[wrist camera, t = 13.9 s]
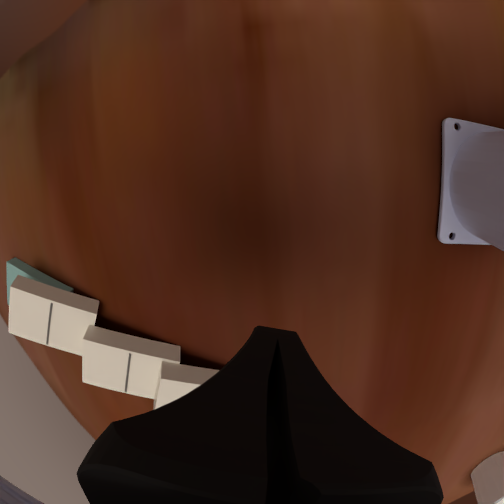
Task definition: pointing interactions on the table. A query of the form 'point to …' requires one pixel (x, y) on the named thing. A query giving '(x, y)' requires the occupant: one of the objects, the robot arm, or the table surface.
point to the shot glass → (489, 480)
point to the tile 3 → (124, 361)
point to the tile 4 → (178, 381)
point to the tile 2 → (50, 314)
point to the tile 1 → (30, 275)
